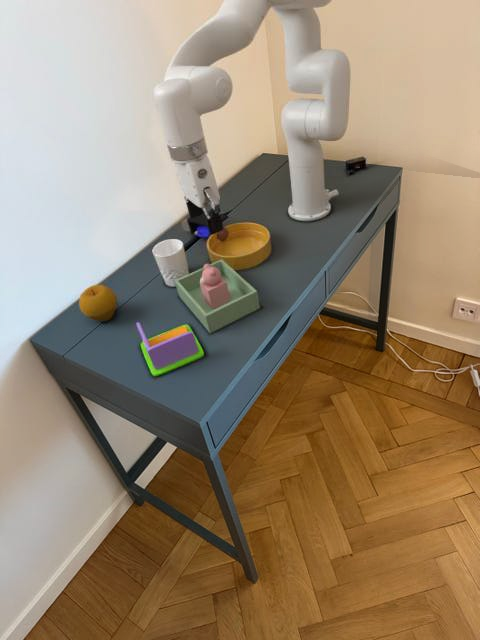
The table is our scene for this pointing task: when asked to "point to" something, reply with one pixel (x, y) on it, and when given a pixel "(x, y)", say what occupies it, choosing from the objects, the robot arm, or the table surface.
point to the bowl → (241, 246)
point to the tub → (214, 319)
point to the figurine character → (203, 226)
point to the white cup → (171, 260)
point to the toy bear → (214, 287)
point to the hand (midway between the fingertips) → (206, 223)
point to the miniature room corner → (170, 349)
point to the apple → (98, 303)
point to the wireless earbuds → (355, 164)
